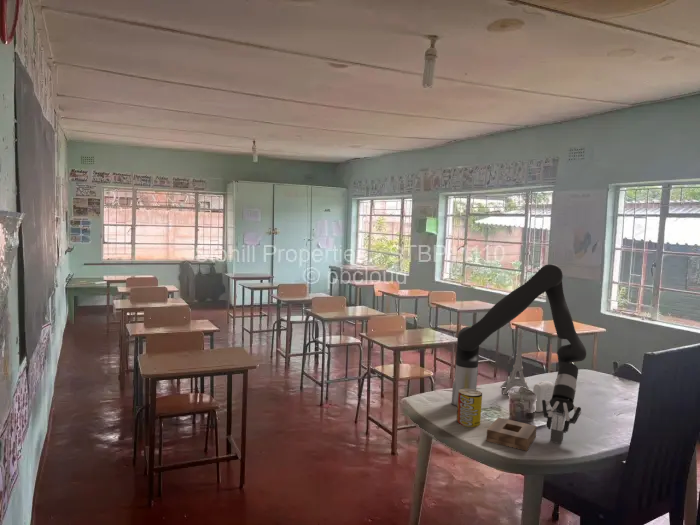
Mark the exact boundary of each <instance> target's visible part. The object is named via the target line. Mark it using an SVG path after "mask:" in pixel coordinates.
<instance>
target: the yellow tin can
mask: <svg viewBox="0 0 700 525" xmlns="http://www.w3.org/2000/svg"><path fill="white" fill-rule="evenodd" d="M482 402H483V392H482V391H479V389H478V390H477V389H476V390H474V389H460V390H459V392H458V406H456V407H457V408H456V423H457V424H458V425H460V426H463V427H468V428H476V427H479V426H480V425H481V419H482V418H481V416H482V405H483V403H482Z"/></svg>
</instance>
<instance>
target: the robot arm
mask: <svg viewBox="0 0 700 525" xmlns="http://www.w3.org/2000/svg"><path fill="white" fill-rule="evenodd" d="M563 276H564V275H563V272H562V269H561V268H560V267H559V266H558V265H557V264H552V263H551V264H550V263H549V264H545V265H542V266H541V268H540V269H539V270H538V271H536V273H535V274H534V275H532V276H531V277H530V278H529V279H528V280H527V281H526V282H524V283H523V284H522V285H520V286H518V287H517V288H515V289H514V290H513V291H510V292H509V293H508V294H507V295H506V296H504V297H503V298H501V299H500V300H499V301H498V302H496V303H495V304H494V305H493V306H492V307H491V308H490V309H488V311H487V313H486V314H485V315H484V316H483V317H482V318H481V319H479V321H477V322H476V323H475V324H473V325H472V326H465V327H462V328H461V329H460V330H459V332H458V334H457V343H456V357H455V371H454V372H455V373H454V381H453V382H452V393H451V405H454V406H456V407H457V406H458V392H459V390H460V389H474V390H477V385H478V384H477V383H478V372H479V371H478V370H479V369H478V368H479V354H480V353H479V352H480V346H481V345H482V343H484V342H485V341H486V340H487V339H488V338H489V337H490V336H491V335H493V334H494V333H495V332H497V331H498V330H501V329H502V328H504V327H505V326H506V325H507V324H509V323H511V322H512V321H513V320H515V319H516V318H517V317H518V316H520V315H521V314H522V313H523V312H524V311H525V310H526V309H527V308H528V307H529V306H530V305H531V304H532V303H533V302H534V301H535V300H536V299H537V298H538V297H540V296H541V295H543V293H545V294H546V296H547V299H548V303H549V308H550V311H551V316H552V320H553V325H554V329H555V331H556V332H555V333H556V336H557V338H558V339H559V340H567V342H569V343H570V344H563V345H561V346H560V347H559V348H558V350H557V353H556V354H557V356H556V357H557V363H558V371H557V375H556V378H555V382H554V384H553V385H554V390H553V395H552V399H551V400H550V401H545V400H542V406H543V411H542V414H543V418H546V423H545V424H546V428H547V429H548V430H551V428H552V416H553V411H554V409H559V410H564V411H565V420H564V429H563V432H564V434H566V433H568V432H569V429H570V424H573V425H575V424H576V423H577V421H578V419H579V417H580V415H581V413H582V407H581V406H578V407H577V406H575V404H574V401H575V396H576V391H577V382H578V381H577V380H578V375H579V368H578V366H577V365H576V364H575V363H579V362H582V361H584V360H585V359H586V358H587V350H586V346H585V345H584V343H583V342H582V340H581V338H580V337H579V336H578V333H577V332H576V329H575V324H574V321H573V318H572V315H571V312H570V309H569V306H568V303H567V302H566V298H565V294H564V287H563V278H564V277H563ZM548 405H551V407H552V409H551V410H549V413H548V410H546V407H548ZM572 411H573V416H572V417H570V414H569V413H570V412H572Z"/></svg>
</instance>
